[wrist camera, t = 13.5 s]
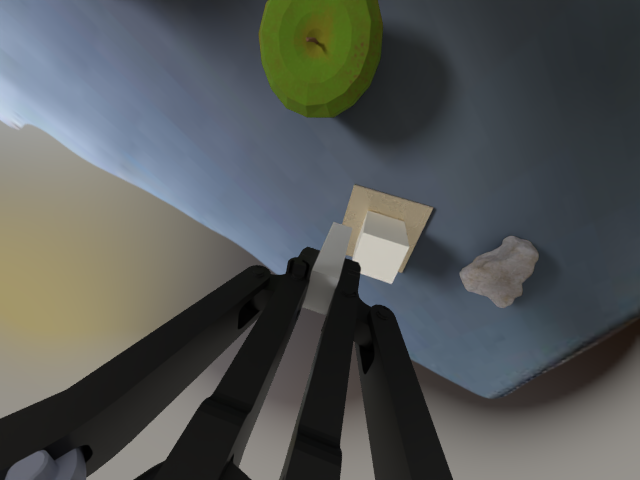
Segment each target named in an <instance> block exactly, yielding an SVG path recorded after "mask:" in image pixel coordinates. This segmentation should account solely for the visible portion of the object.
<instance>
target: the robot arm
mask: <svg viewBox="0 0 640 480" xmlns="http://www.w3.org/2000/svg"><path fill="white" fill-rule="evenodd" d="M351 232H352V228H351V227H348V226H345V225H342V224H338V223H335V222H333V224H332V227H331V229H330V231H329V233H328V235H327V238H326V240H325V242H324V244H323V246H322V249H321V251H319V250H316V249H313V248H310V247H306V248H305V249H303V250H302V252H301V253H300V255H299V257H294V258H291V259H290V260H289V261H288V265H287V270H286V274H283V275H272V274H270V271H269V269H267V268H266V267H264V266H260V265H259V266H258V265H255V266H251V267H249V268H247V269H246V270H244V271H243V272H241V273H240V274H238V275H237V276H235V277H234V278H232V279H231V280H229V281H228V282H226V283H225V284H223V285H222V286H220V287H219V288H217V289H216V290H214V291H213V292H211V293H210V294H208V295H207V296H205V297H204V298H202V299H201V300H199V301H198V302H196V303H195V304H193V305H192V306H190V307H189V308H188V309H186V310H184V311H183V312H181V313H180V314H179V315H177V316H175V317H174V318H173V319H171V320H170V321H168V322H167V323H165V324H164V325H162V326H161V327H159V328H158V329H156V330H155V331H153V332H152V333H150V334H149V335H147V336H146V337H144V338H143V339H141V340H140V341H138V342H137V343H135V344H134V345H132V346H131V347H130V348H128V349H126V350H125V351H123V352H122V353H120V354H119V355H117V356H116V357H114V358H113V359H111V360H110V361H108V362H107V363H106V364H104V365H103V366H101V367H99V368H98V369H97V370H95V371H94V372H92V373H91V374H89V375H88V376H86V377H85V378H83V379H82V380H80V381H79V382H77V383H76V384H74V385H73V386H71V387H70V388H68V389H67V390H65V391H62V392H60V393H58V394H55V395H53V396H51V397H49V398H47V399H44V400H42V401H40V402H37V403H35V404H33V405H30V406H28V407H26V408H24V409H22V410H19V411H17V412H15V413H12V414H10V415H8V416H5V417H3V418H1V419H0V480H86V477H88V476H89V475H91V474H92V473H94V472H95V471H96V470H98V469H99V468H100V467H101V466H103V465H104V464H105V463H106V462H108V461H109V460H110V459H111V458H113V457H114V456H115V455H116V454H117V453H118V452H120V450H122V449H123V448H124V447H125V446H126V445H127V444H128V443H130V442H131V441H132V440H133V439H134V438H135V437H136V436H137V435H138V434H139V433H140V432H141V431H142V430H143V429H144V428H145V427H146V426H147V425H148V424H149V423H150V422H151V421H152V420H153V419H154V418H156V417H157V416H158V415H159V414H160V413H161V412H162V411H163V410H164V409H165V408H166V407H167V406H168V405H169V404H170V403H171V402H172V401H173V400H174V399H175V398H176V397H177V396H178V395H179V394H180V393H181V392H182V391H183V390H184V389H185V388H186V387H187V386H189V384H191V383H192V382H193V381H194V380H195V379H196V378H197V377H198V376H199V375H200V374H201V373H202V372H203V371H204V370H205V369H206V368H207V367H208V366H209V365H210V364H211V363H212V362H213V361H214V360H215V359H216V358H217V357H218V356H220V355H221V354H222V353H223V352H224V351H225V349H227V348H228V347H229V346H230V345H231V344H232V343H233V342H234V341H235V340H236V339H237V338H238V337H239V336H240V335H241V334H242V333H243V332H244V331H245V330H246V329H247V328H248V327H249V326H250V325H251V324H253V323H254V322H255V321H256V320H257V319H258V320H257V322H256V323H255V325H254V327H253V328H252V330H251V332H250V333H249V335H248V337H247V338H246V340H245V342H244V343H243V345H242V347H241V348H240V350H239V351H238V354H237V355H236V357H235V358H234V360H233V362H232V364H231V365H230V367H229V368H228V370H227V372H226V373H225V375H224V376H223V378H222V380H221V382H220V383H219V385H218V386H217V388H216V390H215V391H214V393H213V394H212V395H211V396H210V397H208V398H206V399H205V400H204V401H203V402H202V403H201V405H200V407H199V408H198V409H197V411H196V412H195V414H194V416H193V417H192V419H191V420H190V422H189V424H188V425H187V427H186V429H185V430H184V432H183V433H182V435H181V436H180V438H179V440H178V441H177V443H176V444H175V446H174V448H173V449H172V451H171V452H170V454H169V456H168V457H167V459H166V460H165V461H163V462H161V463H159V464H157V465H156V466H154V467H152V468H150V469H149V470H147V471H146V472H144V473H143V474H142V475H140V476H138V477H137V478H136V479H134V480H251V479H250V478H249V477H248V476H247V475H246V474H245V473H244V472H242V471H241V470H240V469H239V468H238V467H239V465H240V462H241V459H242V455H243V452H244V450H245V447H246V444H247V442H248V439H249V437H250V434H251V431H252V430H253V427H254V425H255V422H256V420H257V417H258V415H259V413H260V410H261V407H262V405H263V403H264V400H265V398H266V395H267V393H268V390H269V388H270V386H271V383H272V381H273V378H274V376H275V373H276V371H277V368H278V366H279V364H280V361H281V359H282V356H283V354H284V351H285V349H286V346H287V344H288V342H289V339H290V337H291V334H292V332H293V329H294V327H295V324H296V322H297V320H298V317H299V315H300V311H301V308H302V307H304V308H307V309H310V310H312V311H315V312H318V313H322V314H324V315H327V316H326V318H325V321H324V324H323V327H322V330H321V331H322V332H321V336H320V339H319V343H318V346H317V350H316V353H315V357H314V360H313V364H312V367H311V371H310V375H309V378H308V381H307V385H306V389H305V392H304V396H303V400H302V403H301V407H300V410H299V413H298V417H297V420H296V424H295V427H294V431H293V434H292V438H291V442H290V445H289V449H288V453H287V456H286V459H285V463H284V466H283V469H282V472H281V476H280V479H279V480H340V473H341V463H342V451H341V449H340V439H341V431H342V423H343V416H344V408H345V401H346V392H347V385H348V378H349V370H350V362H351V354H352V347H353V341H354V342H355V348H356V355H357V361H358V368H359V375H360V381H361V388H362V394H363V401H364V408H365V414H366V421H367V428H368V434H369V441H370V448H371V454H372V461H373V468H374V474H375V480H453V478H452V475H451V472H450V470H449V467H448V464H447V461H446V459H445V455H444V453H443V450H442V447H441V444H440V441H439V439H438V436H437V433H436V430H435V427H434V425H433V422H432V419H431V416H430V413H429V411H428V407H427V405H426V402H425V399H424V396H423V393H422V391H421V388H420V385H419V382H418V379H417V377H416V374H415V371H414V368H413V365H412V362H411V360H410V357H409V354H408V351H407V348H406V345H405V343H404V340H403V337H402V334H401V331H400V328H399V326H398V323H397V320H396V317H395V315H394V313H393V312H392V311H391V310H390V309H389V308H387V307H385V306H382V305H374V306H372V307H370V306H368V305H367V304H365V303H364V302H363V301H362V300H361V299H360V298H359V294H358V286H359V279H360V272H361V267H360V264H359V262H355V261H352V260H349V259H346V258H345V255H346V251H347V247H348V243H349V240H350V236H351ZM302 305H303V306H302Z"/></svg>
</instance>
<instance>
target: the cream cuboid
mask: <svg viewBox="0 0 640 480" xmlns="http://www.w3.org/2000/svg"><path fill="white" fill-rule="evenodd" d="M408 249H409V243H408V238H407V232H406V227H405V222H404V221H401V220H397V219H394V218H391V217H388V216H384V215H381V214H378V213H375V212H371V211H367V214H366V216H365V219H364V222H363V225H362V228H361V231H360V233H359V236H358V239H357V242H356V246H355V250H354V254H353V258H352V261H355V262H359V264H360V267H361V272H360V273H361V274H364V275H367V276H370V277H373V278H376V279H379V280H382V281H384V282H387V283H390V284H392V282H393V280H394V278H395V276H396V274H397V272H398V270H399V268H400V266H401V264H402V261H403V259H404V257H405V255H406V253H407V251H408Z"/></svg>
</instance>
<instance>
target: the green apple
mask: <svg viewBox="0 0 640 480" xmlns="http://www.w3.org/2000/svg"><path fill="white" fill-rule="evenodd" d="M382 36H383V22H382V18H381V13H380V9H379V4H378V0H268V1H267V3H266V5H265V9H264V13H263V17H262V21H261V26H260V30H259V43H260V52H261V61H262V65H263V68H264V71H265V73H266V76H267V79H268V82H269V84H270V87H271V89H272V90H273V92H274V93H275V94H276V96H277V97H278V98H279V99H280V101H281V102H282V103H283V104H284V106H285V107H286V108H287V109H289V110H292V111H294V112H296V113H299V114H301V115H303V116H305V117H316V118H334V117H335V116H337V115H338V114H340V113H342V112H343V111H345V110H347V109H348V108H350V107H351V106H353V105H354V104H355V103H356V102H357V100H358V99H359V98H360V97H361V96H362V95H363V93H364V92H365V91H366V90H367V89H368V88H369V86H370V85H371V82H372V80H373V77H374V75H375V72H376V69H377V67H378V64H379V62H380V59H381V48H382Z"/></svg>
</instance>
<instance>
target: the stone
mask: <svg viewBox="0 0 640 480" xmlns="http://www.w3.org/2000/svg"><path fill="white" fill-rule="evenodd" d="M538 258H539V254H538V251H537V250H536V248H535V247H534V246H533V245H532V243H531V242H530V241H528V240H524V239H520V238H518V237H515V236H508V237H507V238H505V239H504V240H503V243H502V245H501V246H500V247H498V248H497V249H494V250H493V251H491V252H487V253H485V254H483V255H479V256H478V257H476V258H475V259H474V261H473V263H471V264H469V265H468V266H466V267H464V268H462V269H461V270H462V271H461V272H460V278H461V280H462V283H463V284H464V287H465V288H466V290H467V291H469V292H475V293H477V294H480V295H483V296H487V297H488V298H490V299H491V300H492V301H493V302H494V303H495V304H496V305H497V306H498V307H500V308H505V307H506V306H509V305H511V304H512V303H513V300H514V299H515V298H516V297H519V296H521V295H522V292H523V288H522V283H523V282H524V281H525V280H526V279H527V278H528V277H530V276H531V275H532V273H533V271H534V265H535V263H536V262H537V261H538Z"/></svg>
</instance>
